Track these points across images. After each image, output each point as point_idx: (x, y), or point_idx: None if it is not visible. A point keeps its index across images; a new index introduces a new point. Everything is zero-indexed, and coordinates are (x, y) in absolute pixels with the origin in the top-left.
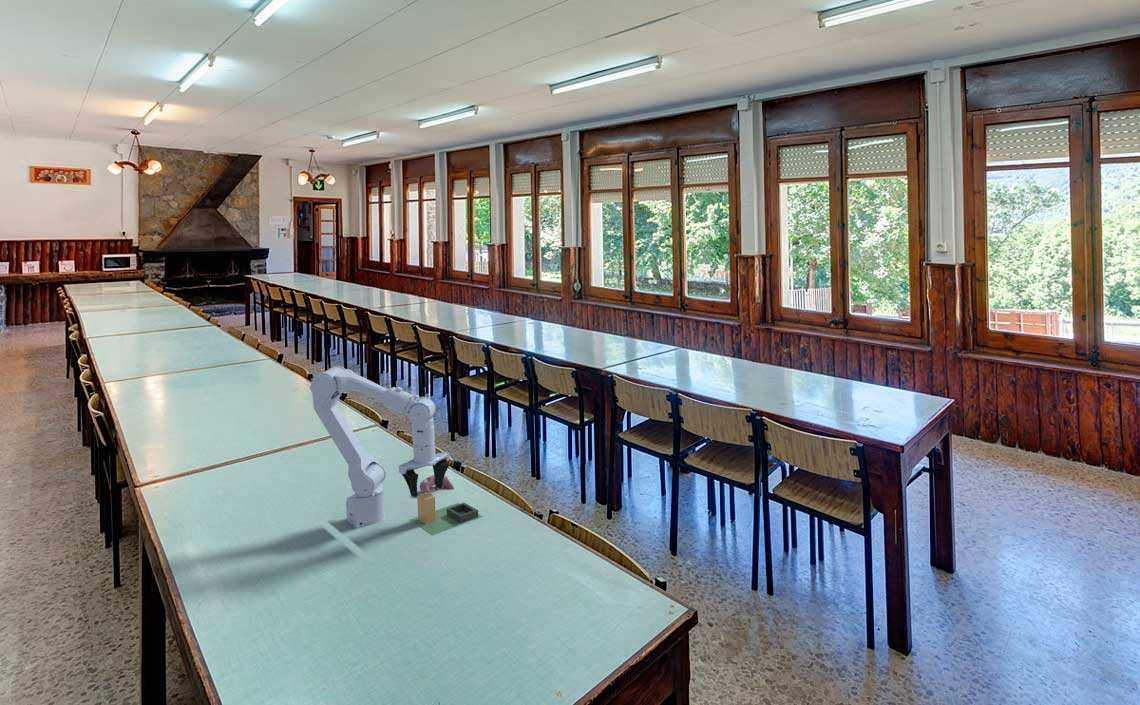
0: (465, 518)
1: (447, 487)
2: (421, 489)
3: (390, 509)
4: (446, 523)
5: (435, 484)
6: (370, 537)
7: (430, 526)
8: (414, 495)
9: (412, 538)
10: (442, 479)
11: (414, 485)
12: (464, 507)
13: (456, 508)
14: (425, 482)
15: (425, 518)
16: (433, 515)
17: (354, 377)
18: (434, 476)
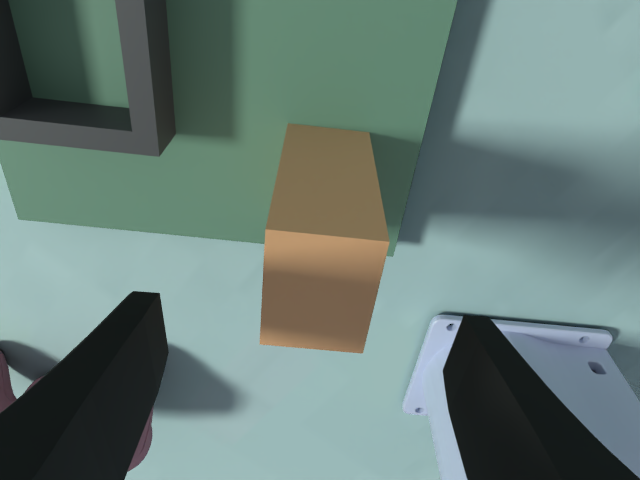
0: None
1: (3, 383)
2: (149, 431)
3: (340, 396)
4: (253, 21)
5: (160, 371)
6: (623, 264)
7: (372, 78)
8: (497, 333)
9: (525, 74)
10: (67, 369)
11: (589, 446)
12: (8, 90)
13: (79, 119)
14: None
15: (371, 154)
16: (302, 144)
17: None
18: (126, 472)
